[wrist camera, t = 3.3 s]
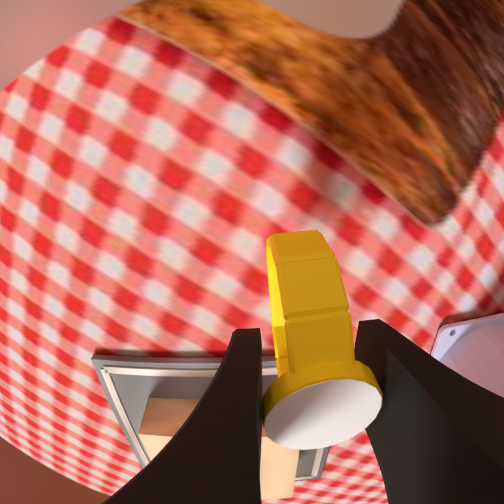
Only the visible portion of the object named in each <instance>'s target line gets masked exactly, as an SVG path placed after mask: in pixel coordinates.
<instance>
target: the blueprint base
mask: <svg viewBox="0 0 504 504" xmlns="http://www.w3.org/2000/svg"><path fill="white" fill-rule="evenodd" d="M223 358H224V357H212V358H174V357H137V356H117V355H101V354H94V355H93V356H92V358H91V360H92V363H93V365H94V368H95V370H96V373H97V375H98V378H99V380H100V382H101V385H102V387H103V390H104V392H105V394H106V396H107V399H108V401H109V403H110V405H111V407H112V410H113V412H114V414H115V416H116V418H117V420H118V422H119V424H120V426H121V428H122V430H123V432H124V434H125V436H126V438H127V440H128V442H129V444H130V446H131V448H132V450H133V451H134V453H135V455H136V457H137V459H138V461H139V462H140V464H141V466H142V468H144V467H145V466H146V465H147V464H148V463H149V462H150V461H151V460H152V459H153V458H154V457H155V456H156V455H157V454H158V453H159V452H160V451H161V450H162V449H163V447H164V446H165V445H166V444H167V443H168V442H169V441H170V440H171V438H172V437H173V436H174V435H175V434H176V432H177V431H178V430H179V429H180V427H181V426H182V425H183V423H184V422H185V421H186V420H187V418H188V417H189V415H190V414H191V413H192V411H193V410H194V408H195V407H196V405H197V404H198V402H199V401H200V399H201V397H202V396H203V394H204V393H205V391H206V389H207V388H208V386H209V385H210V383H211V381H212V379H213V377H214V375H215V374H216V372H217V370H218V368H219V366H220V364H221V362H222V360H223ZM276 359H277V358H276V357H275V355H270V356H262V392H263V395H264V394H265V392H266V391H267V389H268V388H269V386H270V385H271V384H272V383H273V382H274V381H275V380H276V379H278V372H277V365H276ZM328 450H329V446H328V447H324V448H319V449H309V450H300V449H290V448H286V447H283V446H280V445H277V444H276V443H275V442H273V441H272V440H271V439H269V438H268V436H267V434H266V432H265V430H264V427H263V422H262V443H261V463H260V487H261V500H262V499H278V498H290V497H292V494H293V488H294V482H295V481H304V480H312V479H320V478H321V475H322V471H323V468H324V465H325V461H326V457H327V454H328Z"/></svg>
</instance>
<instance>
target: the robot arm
mask: <svg viewBox="0 0 504 504" xmlns="http://www.w3.org/2000/svg"><path fill="white" fill-rule="evenodd" d="M354 354H355V360H356V361H359V362H361V363H363V364H364V365H366V366H367V367H369V368H370V369H371V371H372V372H373V374H374V376H375V378H376V380H377V382H378V384H379V387H380V389H381V391H382V393H383V399H382V406H381V408H380V410H379V412H378V414H377V416H376V418H375V419H374V420H373V421H372V422H371V423H370V424H369V425H368V426H367V427H366V428H365V429H366V432H367V434H368V437H369V440H370V442H371V445H372V448H373V450H374V453H375V456H376V458H377V461H378V464H379V466H380V470H381V473H382V476H383V480H384V484H385V489H386V494H387V498H388V503H389V504H504V313H500V314H495V315H491V316H486V317H481V318H477V319H472V320H467V321H461V322H456V323H451V324H446V325H443V326H442V327H441V328H440V329H439V331H438V334H437V337H436V340H435V343H434V346H433V349H432V352H431V355H430V354H428V353H427V352H425V351H424V350H423V349H421V348H420V347H418V346H417V345H416V344H414V343H413V342H411V341H410V340H409V339H407V338H406V337H405V336H403V335H402V334H400V333H399V332H398V331H396V330H395V329H393V328H392V327H391V326H389V325H388V324H386V323H385V322H383V321H382V320H380V319H375V320H365V321H359V325H358V331H357V337H356V342H355V348H354ZM262 398H263V392H262V342H261V334H260V328H252V329H236V330H235V331H234V332H233V333H232V337H231V340H230V343H229V346H228V349H227V351H226V353H225V355H224V358H223V360H222V362H221V364H220V366H219V368H218V370H217V372H216V374H215V375H214V377H213V379H212V381H211V383H210V385H209V386H208V388H207V389H206V391H205V393H204V394H203V396H202V397H201V399H200V401H199V402H198V404H197V405H196V407H195V408H194V410H193V411H192V413H191V414H190V415H189V417H188V418H187V420H186V421H185V422H184V423H183V425H182V426H181V427H180V429H179V430H178V431H177V432H176V434H175V435H174V436H173V437H172V438H171V440H170V441H169V442H168V443H167V444H166V445H165V446H164V447H163V449H162V450H161V451H160V452H159V453H158V454H157V455H156V456H155V457H154V458H153V459H152V460H151V461H150V462H149V463H148V464H147V465H146V466H145V467H144V468H143V469H142V470H141V471H140V472H139V473H138V474H137V475H136V476H135V477H133V478H132V479H131V480H130V481H129V482H128V483H126V484H125V485H124V486H123V487H122V488H121V489H119V490H118V491H117V492H116V493H115V494H113V495H112V496H111V497H110V498H108V499H107V500H106V501H104V502H103V503H102V504H261V487H260V463H261V443H262V413H261V405H262Z"/></svg>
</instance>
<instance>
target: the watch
mask: <svg viewBox="0 0 504 504" xmlns="http://www.w3.org/2000/svg"><path fill="white" fill-rule="evenodd" d="M334 257H335V255H334V253H333V251H332V250H331V248H330V246H329V245H328V243H327V242H326V240H325V238H324V237H323V235H322V234H321V233H320V232H319V231H318V230H309V231H299V232H289V233H280V234H272V235H271V236H269V238H268V239H267V241H266V260H267V271H268V283H269V295H270V307H271V324H272V332H273V340H274V349H275V357H276V358H277V359H276V365H277V372H278V379H276V380H275V381H274V382H273V383H272V384H271V385H270V386H269V388H268V389H267V391H266V392H265V394H264V395H263V398H262V405H261V413H262V422H263V427H264V430H265V432H266V434H267V436H268V438H269V439H271V440H272V441H273V442H275V443H276V444H277V445H280V446H283V447H286V448H290V449H300V450H309V449H319V448H324V447H328V446H332V445H335V444H338V443H341V442H343V441H345V440H347V439H350V438H352V437H354V436H355V435H357V434H358V433H360V432H361V431H363V430H364V429H365V428H366V427H367V426H368V425H369V424H370V423H371V422H372V421H373V420H374V419H375V418H376V416H377V414H378V412H379V410H380V408H381V406H382V399H383V393H382V391H381V389H380V387H379V384H378V382H377V380H376V378H375V376H374V374H373V372H372V371H371V369H370V368H369V367H367V366H366V365H364V364H363V363H361V362H359V361H356V360H355V354H354V342H353V332H352V322H351V314H350V313H349V312H347V310H348V308H349V303H348V299H347V296H346V292H345V288H344V285H343V281H342V277H341V274H340V270H339V267H338V263H337V260H336V259H335V258H334Z"/></svg>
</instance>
